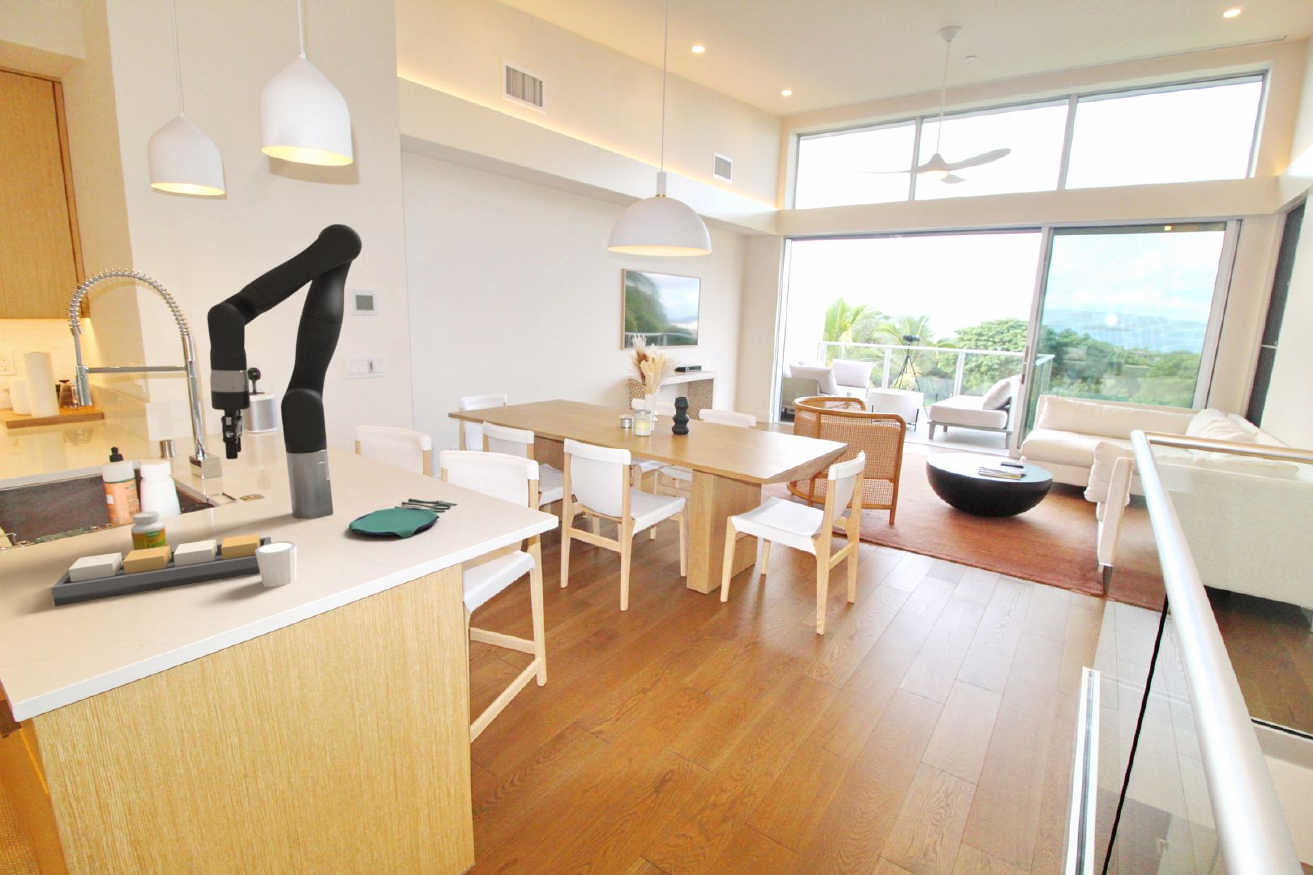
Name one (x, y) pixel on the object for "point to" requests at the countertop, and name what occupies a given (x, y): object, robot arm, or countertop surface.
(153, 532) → the supplement bottle
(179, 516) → the countertop surface
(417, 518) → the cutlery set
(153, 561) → the key
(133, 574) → the keypad base
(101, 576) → the key
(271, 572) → the white cup
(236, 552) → the key
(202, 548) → the key
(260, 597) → the countertop surface
